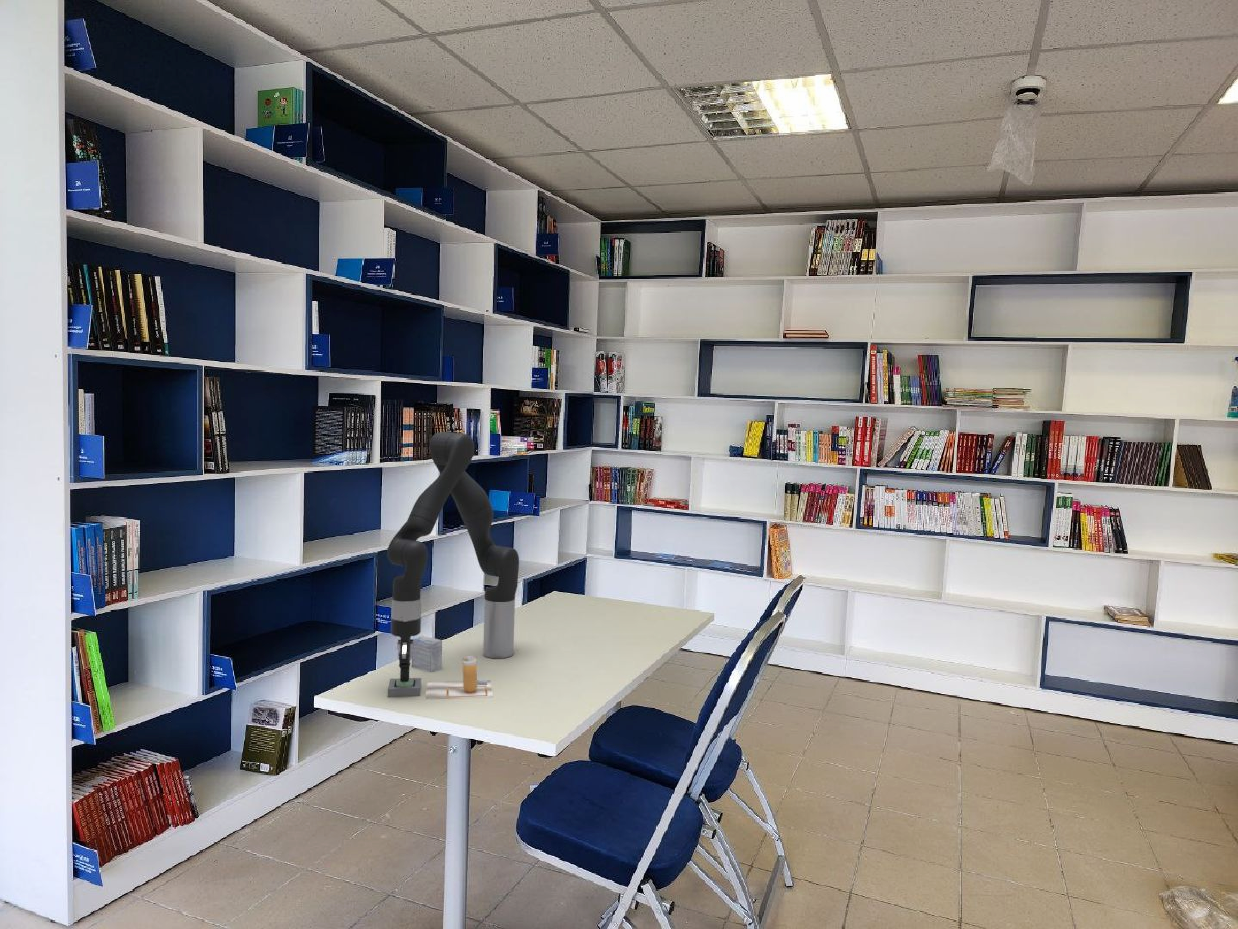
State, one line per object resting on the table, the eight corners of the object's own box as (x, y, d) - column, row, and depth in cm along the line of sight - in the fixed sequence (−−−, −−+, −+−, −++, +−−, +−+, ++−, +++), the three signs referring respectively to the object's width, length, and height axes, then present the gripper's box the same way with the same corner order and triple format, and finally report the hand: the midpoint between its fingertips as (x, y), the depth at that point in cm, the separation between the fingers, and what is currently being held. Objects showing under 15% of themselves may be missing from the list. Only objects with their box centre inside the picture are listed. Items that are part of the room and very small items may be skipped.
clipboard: (423, 683, 218) (423, 681, 218) (493, 680, 222) (494, 679, 222) (421, 701, 204) (421, 700, 204) (496, 699, 208) (496, 697, 208)
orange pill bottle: (462, 689, 213) (461, 657, 211) (476, 687, 214) (475, 655, 213) (464, 695, 209) (463, 662, 208) (478, 693, 211) (477, 660, 209)
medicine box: (442, 669, 230) (443, 640, 229) (431, 673, 226) (432, 643, 225) (422, 664, 234) (422, 635, 233) (410, 668, 230) (411, 638, 229)
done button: (396, 687, 212) (396, 678, 212) (413, 687, 213) (414, 677, 213) (395, 693, 208) (395, 684, 207) (413, 692, 208) (413, 683, 208)
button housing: (390, 688, 213) (390, 678, 213) (421, 687, 215) (421, 677, 215) (387, 698, 205) (387, 689, 205) (419, 697, 207) (420, 688, 207)
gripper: (393, 609, 215) (391, 673, 216) (389, 622, 202) (387, 690, 203) (421, 609, 216) (420, 672, 217) (419, 622, 203) (418, 689, 204)
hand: (404, 681), depth 210 cm, fingers closed
